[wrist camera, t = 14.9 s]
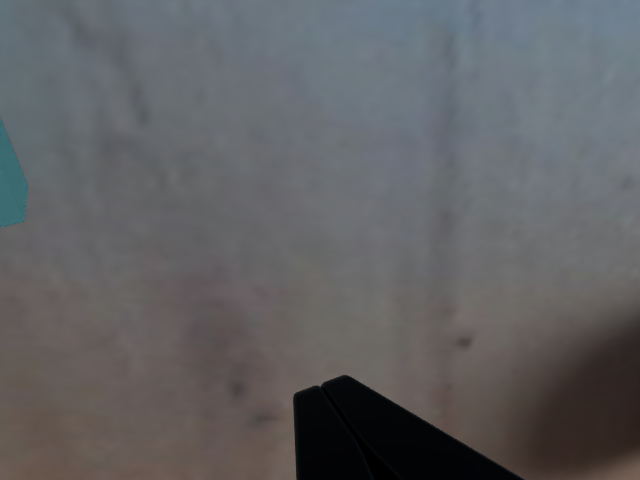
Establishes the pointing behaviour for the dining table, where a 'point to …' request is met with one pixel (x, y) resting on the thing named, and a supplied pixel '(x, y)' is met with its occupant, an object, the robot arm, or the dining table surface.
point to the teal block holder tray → (10, 184)
